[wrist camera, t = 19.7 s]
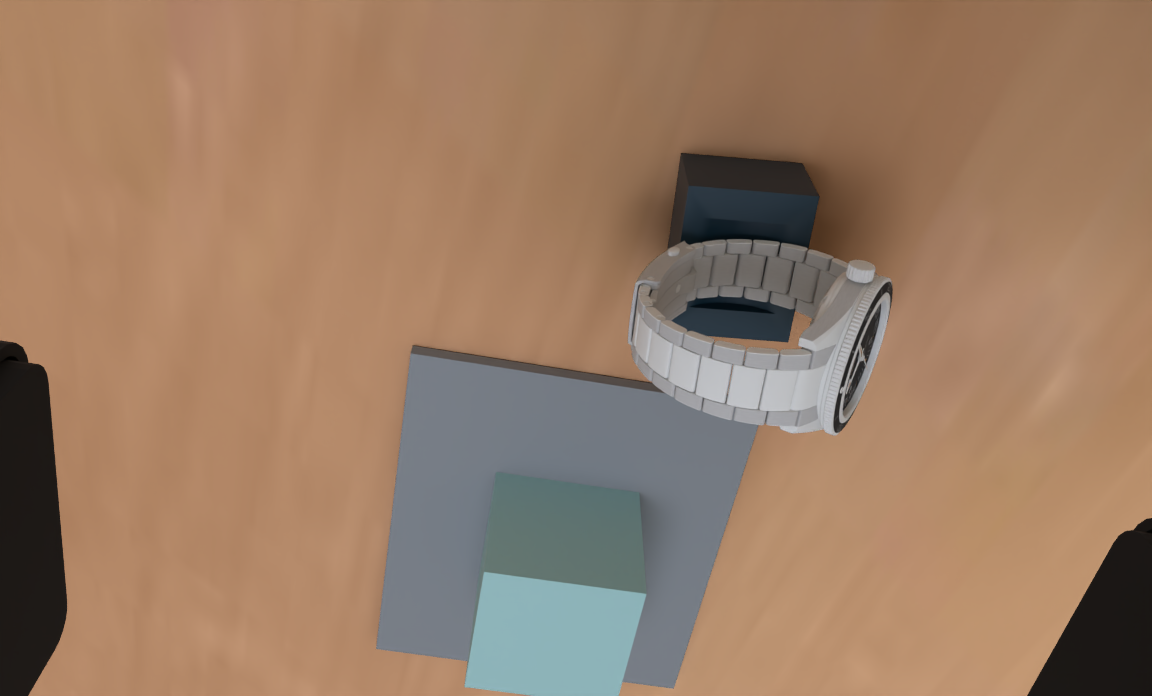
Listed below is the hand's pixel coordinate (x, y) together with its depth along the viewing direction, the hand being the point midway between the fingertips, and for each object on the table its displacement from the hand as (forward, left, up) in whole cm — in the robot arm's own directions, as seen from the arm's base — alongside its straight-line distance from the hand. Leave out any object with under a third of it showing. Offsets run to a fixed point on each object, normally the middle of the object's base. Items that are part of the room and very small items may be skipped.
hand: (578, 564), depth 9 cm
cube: (-3, +23, -28) cm, 36 cm away
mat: (-3, +23, -28) cm, 37 cm away
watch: (-7, +8, -28) cm, 30 cm away
